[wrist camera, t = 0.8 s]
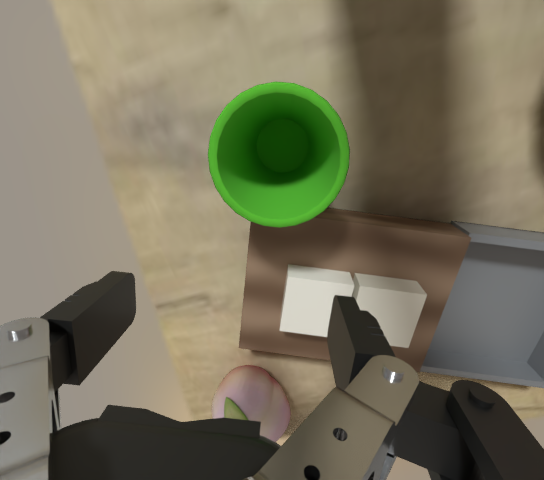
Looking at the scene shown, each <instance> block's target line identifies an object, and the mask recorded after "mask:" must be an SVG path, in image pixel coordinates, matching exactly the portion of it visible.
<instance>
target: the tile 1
mask: <svg viewBox="0 0 544 480" xmlns="http://www.w3.org/2000/svg"><path fill="white" fill-rule="evenodd" d="M353 289H354V283H353V280H352V277H351V274H350V272H344V271H337V270H329V269H322V268H314V267H306V266H299V265H291V264H288V268H287V275H286V282H285V288H284V295H283V301H282V308H281V315H280V331H285V332H292V333H300V334H307V335H315V336H322V337H327V333H328V326H329V320H330V315H331V309H332V303H333V299H334V296H335V295H340V296H350V297H352V293H353Z"/></svg>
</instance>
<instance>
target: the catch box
mask: <svg viewBox="0 0 544 480" xmlns="http://www.w3.org/2000/svg"><path fill="white" fill-rule="evenodd" d="M451 224H452V225H453V226H455V227H456V228H458V229H459V230H461V231H462V232H464V233H465V234H467V235H468V236H470V237H471V241H470V243H469V246H468V248H467V251H466V253H465V256H464V259H463V261H462V264H461V266H460V269H459V272H458V274H457V277H456V279H455V282H454V284H453V287H452V290H451V292H450V295H449V297H448V300H447V302H446V305H445V308H444V310H443V313H442V315H441V318H440V321H439V323H438V326H437V328H436V331H435V333H434V336H433V339H432V341H431V344H430V346H429V349H428V351H427V354H426V357H425V359H424V362H423V364H422V367H421V370H420V371H421V372H428V373H436V374H443V375H450V376H458V377H465V378H473V379H480V380H488V381H495V382H502V383H510V384H517V385H525V386H532V387H539V388H544V233H542V232H535V231H527V230H519V229H511V228H503V227H496V226H488V225H480V224H472V223H465V222H457V221H451Z"/></svg>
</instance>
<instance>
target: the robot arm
mask: <svg viewBox="0 0 544 480" xmlns="http://www.w3.org/2000/svg"><path fill="white" fill-rule="evenodd" d="M135 313H136V297H135V278H134V275H133V274H132V273H126V272H117V271H111V272H110V273H108V274H107V275H106V276H104V277H103V278H102V279H100V280H99V281H98V282H94V283H91V284H89V285H86V286H84V287H82V288H81V289H79V290H78V291H76V292H75V293H74V294H73V295H71V296H69V297H68V298H67V299H65V301H62V302H61V303H60V304H58V305H57V306H56V307H54V308H53V309H51V310H50V311H49V312H47V313H46V314H44V315H43V316H41V317H40V318H23V319H18V320H14V321H11V322H8V323H5V324H3V325H1V326H0V480H386V479H387V476H388V474H389V472H390V470H391V468H392V465H393V463H394V461H395V459H396V457H397V456H398V457H400V458H402V459H405V460H407V461H409V462H412V463H415V464H417V465H419V466H422V467H424V468H427V469H428V472H429V475H430V478H431V480H544V449H543V448H542V446H541V445H540V444H539V443H538V441H537V440H536V439H535V438H534V436H533V435H532V434H531V432H530V431H529V430H528V429H527V427H526V426H525V425H524V423H523V422H522V421H521V420H520V418H519V417H518V416H517V414H516V413H515V412H514V411H513V409H512V408H511V407H510V405H509V404H508V403H507V402H506V401H505V400H504V399H503V398H502V397H501V396H500V395H499V394H497V393H496V392H494V391H493V390H491V389H490V388H488V387H486V386H484V385H481V384H479V383H476V382H473V381H468V380H459V381H456V382H454V383H453V384H452V386H451V389H450V392H449V391H446V390H443V389H440V388H437V387H434V386H431V385H428V384H425V383H423V382H421V381H419V376H418V374H417V372H416V371H415V370H414V369H413V368H412V367H411V366H410V365H409V364H407V363H406V362H404V361H403V360H401V359H398V358H396V356H395V354H394V352H393V350H392V348H391V346H390V344H389V343H388V341H387V339H386V337H385V336H384V333H383V331H382V329H381V327H380V325H379V323H378V321H377V319H376V318H375V317H374V316H373V315H371V314H370V313H369V312H368V311H364V310H360V309H359V306H358V304H357V302H356V299H355V298H354V297H350V296H340V295H335V296H334V299H333V303H332V309H331V315H330V320H329V326H328V333H327V344H328V349H329V354H330V359H331V364H332V369H333V374H334V378H335V383H336V387H335V388H333V389H332V390H331V392H330V393H329V394H328V395H327V396H326V397H325V398H324V399H323V400H322V402H321V403H320V404H319V405H318V406H317V407H316V408H315V409H314V410H313V412H312V413H311V414H310V415H309V416H308V417H307V418H306V419H305V420H304V422H303V423H302V424H301V425H300V426H299V427H298V428H297V429H296V430H295V432H294V433H293V434H292V435H291V436H290V437H289V438H288V439H287V440H286V442H285V443H284V444H283V445H282V446H280V445H279V444H277V443H276V442H274V441H272V440H270V439H268V438H266V437H264V436H261V435H260V426H261V422H259V421H250V420H241V419H232V418H215V419H206V420H197V421H188V422H179V421H176V420H173V419H170V418H168V417H165V416H163V415H160V414H157V413H155V412H152V411H150V410H147V409H141V408H131V407H122V406H113V405H108V406H107V407H106V409H105V410H104V412H103V413H102V415H101V416H100V418H96V419H91V420H85V421H82V422H79V423H75V424H72V425H70V426H67V427H64V428H62V429H61V414H60V397H59V390H58V389H59V387H60V386H61V385H62V384H72V385H80V384H81V383H82V382H83V380H84V379H85V378H86V377H87V376H88V375H89V373H90V372H91V371H92V370H93V369H94V367H95V366H96V365H97V364H98V363H99V362H100V360H101V359H102V358H103V357H104V355H105V354H106V353H107V352H108V351H109V350H110V349H111V347H112V346H113V345H114V344H115V343H116V341H117V340H118V339H119V338H120V337H121V336H122V334H123V333H124V332H125V331H126V330H127V328H128V327H129V326H130V325H131V324H132V322H133V320H134V317H135Z"/></svg>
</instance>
